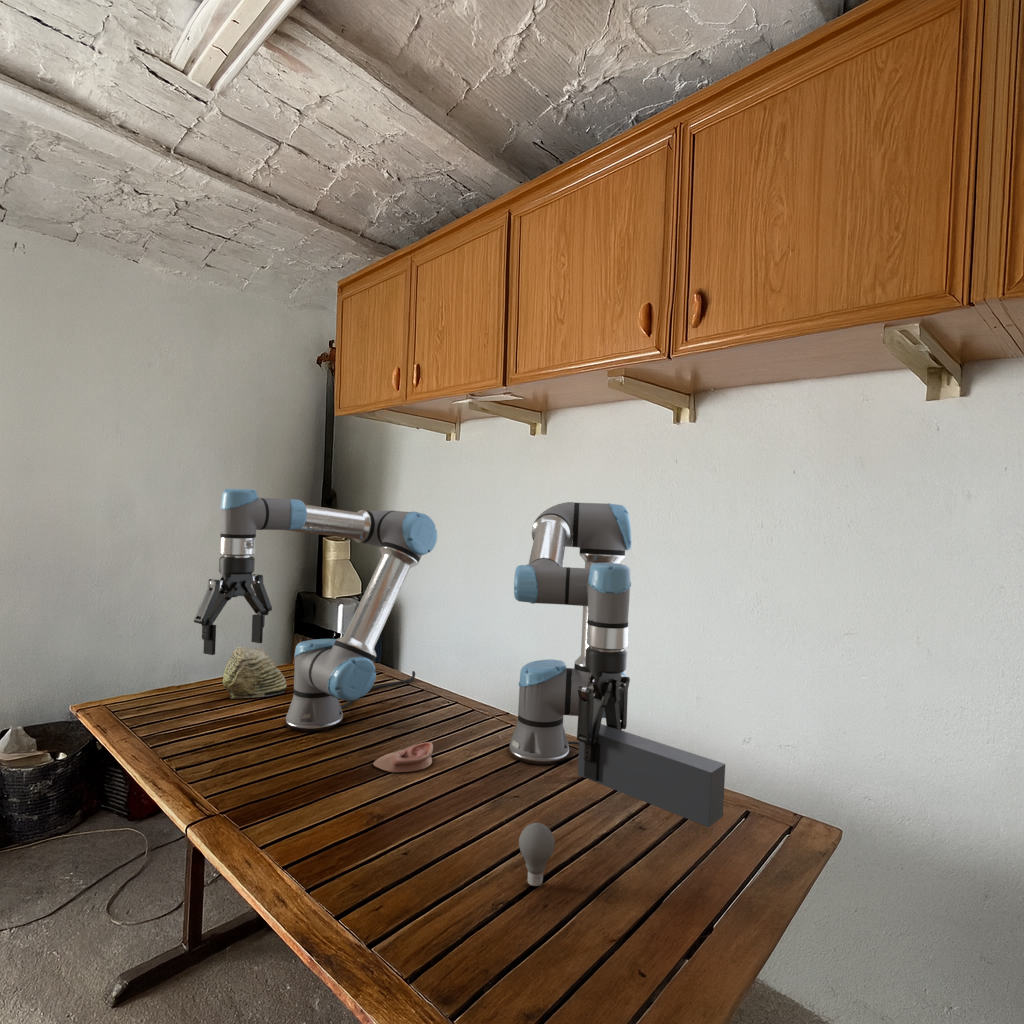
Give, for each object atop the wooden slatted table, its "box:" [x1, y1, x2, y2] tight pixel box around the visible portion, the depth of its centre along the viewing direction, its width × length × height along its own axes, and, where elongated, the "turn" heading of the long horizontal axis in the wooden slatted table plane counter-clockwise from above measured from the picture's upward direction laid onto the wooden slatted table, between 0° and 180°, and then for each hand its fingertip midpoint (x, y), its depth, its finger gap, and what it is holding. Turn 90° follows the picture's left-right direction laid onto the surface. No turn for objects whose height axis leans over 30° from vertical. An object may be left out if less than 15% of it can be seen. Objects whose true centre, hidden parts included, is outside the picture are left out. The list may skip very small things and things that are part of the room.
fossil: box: [222, 646, 288, 699], centre depth 198 cm, size 9×18×15 cm, turn 132°
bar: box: [577, 723, 726, 828], centre depth 110 cm, size 26×5×9 cm, turn 47°
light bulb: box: [518, 822, 556, 887], centre depth 106 cm, size 6×6×10 cm
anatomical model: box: [372, 741, 434, 773], centre depth 152 cm, size 13×4×12 cm
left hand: (234, 648), depth 146 cm, fingers open, 13 cm apart
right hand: (600, 773), depth 116 cm, fingers closed on bar, 5 cm apart
